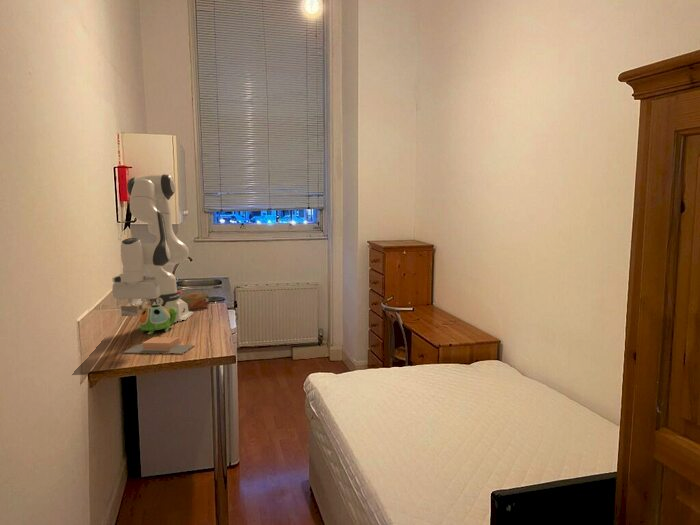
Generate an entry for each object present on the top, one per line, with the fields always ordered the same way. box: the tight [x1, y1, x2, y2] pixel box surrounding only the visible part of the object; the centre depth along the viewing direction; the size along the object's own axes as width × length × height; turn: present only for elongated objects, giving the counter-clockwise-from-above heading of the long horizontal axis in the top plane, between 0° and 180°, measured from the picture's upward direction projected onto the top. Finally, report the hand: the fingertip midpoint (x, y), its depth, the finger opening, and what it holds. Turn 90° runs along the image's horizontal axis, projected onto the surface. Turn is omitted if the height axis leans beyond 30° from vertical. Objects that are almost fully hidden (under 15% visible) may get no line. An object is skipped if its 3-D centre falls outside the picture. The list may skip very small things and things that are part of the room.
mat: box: [122, 344, 195, 355], centre depth 214 cm, size 10×26×1 cm, turn 79°
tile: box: [141, 336, 181, 350], centre depth 216 cm, size 3×12×8 cm
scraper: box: [120, 300, 152, 317], centre depth 225 cm, size 15×7×4 cm, turn 170°
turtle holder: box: [138, 304, 178, 335], centre depth 244 cm, size 12×18×12 cm
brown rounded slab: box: [181, 292, 211, 310], centre depth 286 cm, size 15×3×8 cm, turn 101°
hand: (138, 308), depth 225 cm, fingers closed on scraper, 2 cm apart
